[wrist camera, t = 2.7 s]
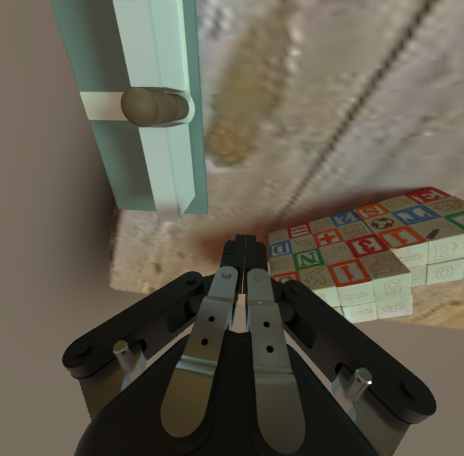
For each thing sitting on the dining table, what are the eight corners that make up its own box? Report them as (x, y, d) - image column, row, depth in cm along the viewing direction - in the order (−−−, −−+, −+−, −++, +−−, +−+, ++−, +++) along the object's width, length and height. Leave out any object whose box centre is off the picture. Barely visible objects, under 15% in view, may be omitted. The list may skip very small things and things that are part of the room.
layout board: (25, -85, 16) (19, -90, 16) (189, -97, 15) (187, -103, 15) (119, 207, 31) (118, 209, 30) (207, 213, 29) (207, 214, 29)
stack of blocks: (433, 184, 24) (567, 243, 14) (430, 225, 27) (539, 299, 17) (266, 233, 30) (272, 299, 20) (278, 262, 33) (288, 333, 23)
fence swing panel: (170, 121, 23) (138, 127, 17) (189, 122, 22) (164, 127, 16) (180, 195, 27) (158, 221, 21) (196, 196, 27) (179, 222, 21)
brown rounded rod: (167, 93, 22) (107, 85, 13) (190, 93, 22) (144, 85, 13) (171, 120, 23) (118, 128, 14) (192, 120, 23) (152, 129, 14)
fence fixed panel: (149, -40, 17) (85, -127, 10) (175, -42, 16) (126, -131, 10) (167, 92, 21) (131, 86, 15) (187, 92, 21) (159, 86, 15)
